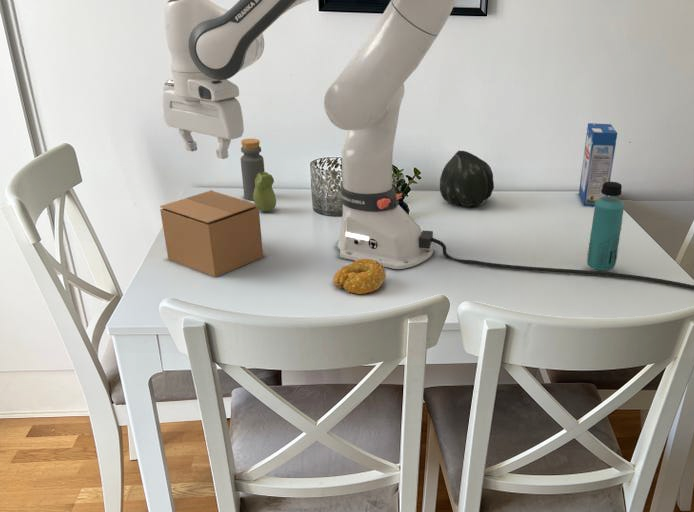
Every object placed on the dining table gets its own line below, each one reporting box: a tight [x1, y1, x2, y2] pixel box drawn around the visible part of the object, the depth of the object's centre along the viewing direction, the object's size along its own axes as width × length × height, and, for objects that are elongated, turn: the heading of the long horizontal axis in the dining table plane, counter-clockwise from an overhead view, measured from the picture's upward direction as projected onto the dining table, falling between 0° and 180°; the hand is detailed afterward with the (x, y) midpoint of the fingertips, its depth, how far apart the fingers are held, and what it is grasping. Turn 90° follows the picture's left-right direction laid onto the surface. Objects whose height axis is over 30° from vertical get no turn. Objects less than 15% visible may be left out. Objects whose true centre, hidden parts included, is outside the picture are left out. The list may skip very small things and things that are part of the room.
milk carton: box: [578, 122, 618, 208], centre depth 204 cm, size 10×6×20 cm, turn 179°
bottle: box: [240, 138, 266, 201], centre depth 196 cm, size 6×6×15 cm
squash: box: [439, 150, 495, 208], centre depth 200 cm, size 14×15×15 cm
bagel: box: [332, 259, 387, 295], centre depth 154 cm, size 10×11×5 cm
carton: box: [159, 190, 264, 278], centre depth 161 cm, size 15×14×12 cm
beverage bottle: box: [586, 181, 625, 271], centre depth 162 cm, size 6×7×20 cm
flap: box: [160, 197, 234, 223], centre depth 156 cm, size 15×7×1 cm, turn 56°
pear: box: [253, 171, 277, 213], centre depth 189 cm, size 6×5×10 cm
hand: (207, 154), depth 156 cm, fingers open, 8 cm apart
